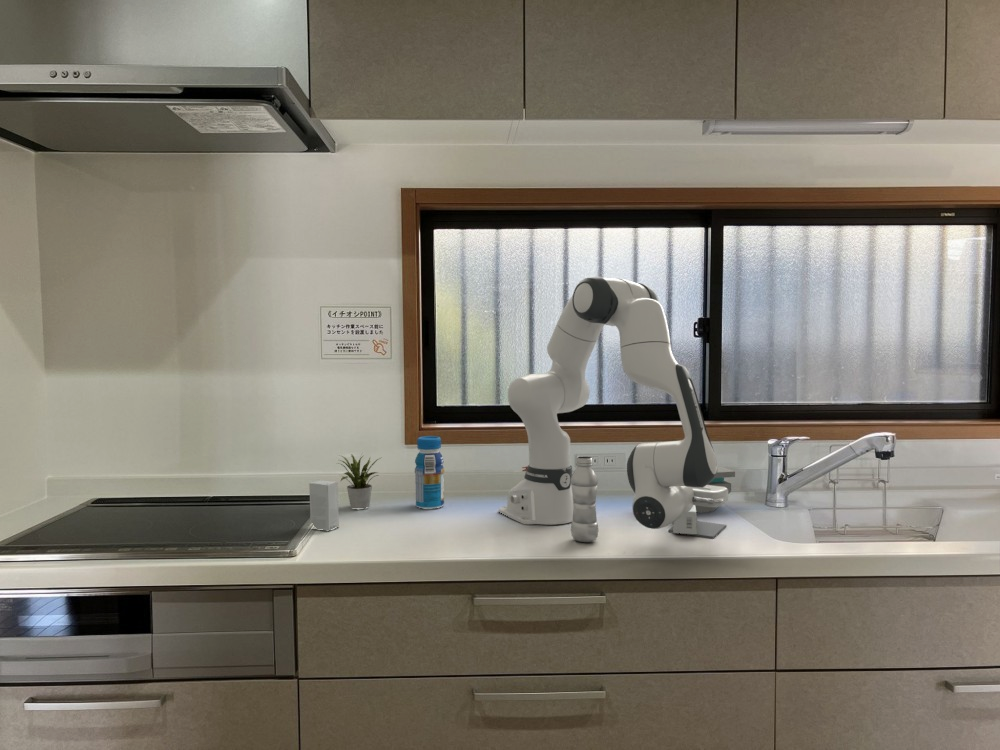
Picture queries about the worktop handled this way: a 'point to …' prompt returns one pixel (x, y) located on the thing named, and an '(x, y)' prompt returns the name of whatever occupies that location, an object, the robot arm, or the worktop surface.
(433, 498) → the beverage bottle
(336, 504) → the skincare box
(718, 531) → the mat
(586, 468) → the plastic bottle
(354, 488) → the house plant
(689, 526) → the syrup box
